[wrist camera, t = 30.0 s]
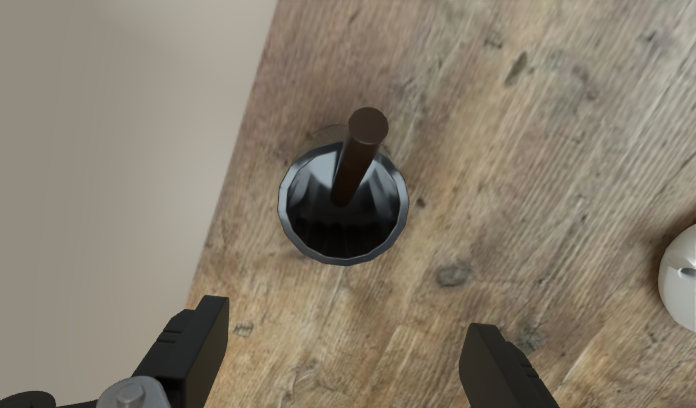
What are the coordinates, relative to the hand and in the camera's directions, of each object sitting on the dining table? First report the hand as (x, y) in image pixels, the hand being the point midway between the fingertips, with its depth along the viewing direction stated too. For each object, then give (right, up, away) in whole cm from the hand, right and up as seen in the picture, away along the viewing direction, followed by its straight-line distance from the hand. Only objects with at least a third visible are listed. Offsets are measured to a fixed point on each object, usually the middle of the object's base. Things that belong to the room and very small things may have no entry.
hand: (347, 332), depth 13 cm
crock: (0, +7, +20) cm, 22 cm away
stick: (-1, +5, +20) cm, 20 cm away
